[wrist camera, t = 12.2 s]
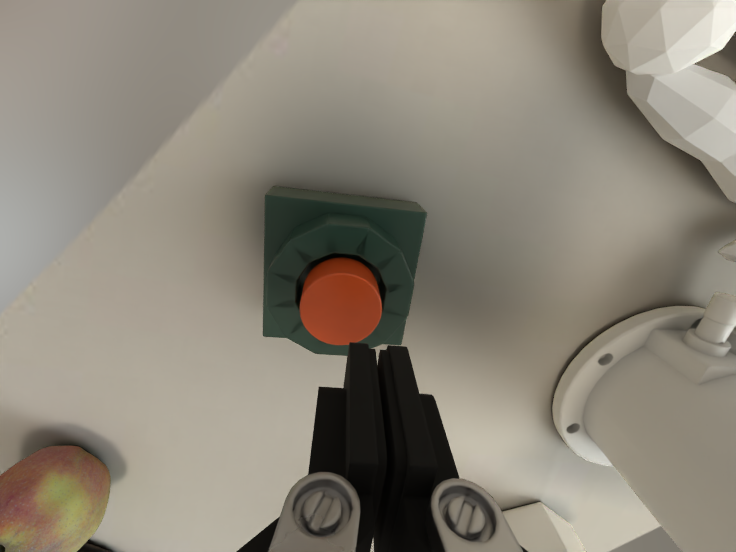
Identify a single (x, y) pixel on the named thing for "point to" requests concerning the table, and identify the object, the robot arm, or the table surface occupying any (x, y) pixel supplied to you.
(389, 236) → the button box
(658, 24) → the doll
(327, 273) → the button
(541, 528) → the jar
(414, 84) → the table surface
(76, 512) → the apple
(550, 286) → the table surface
